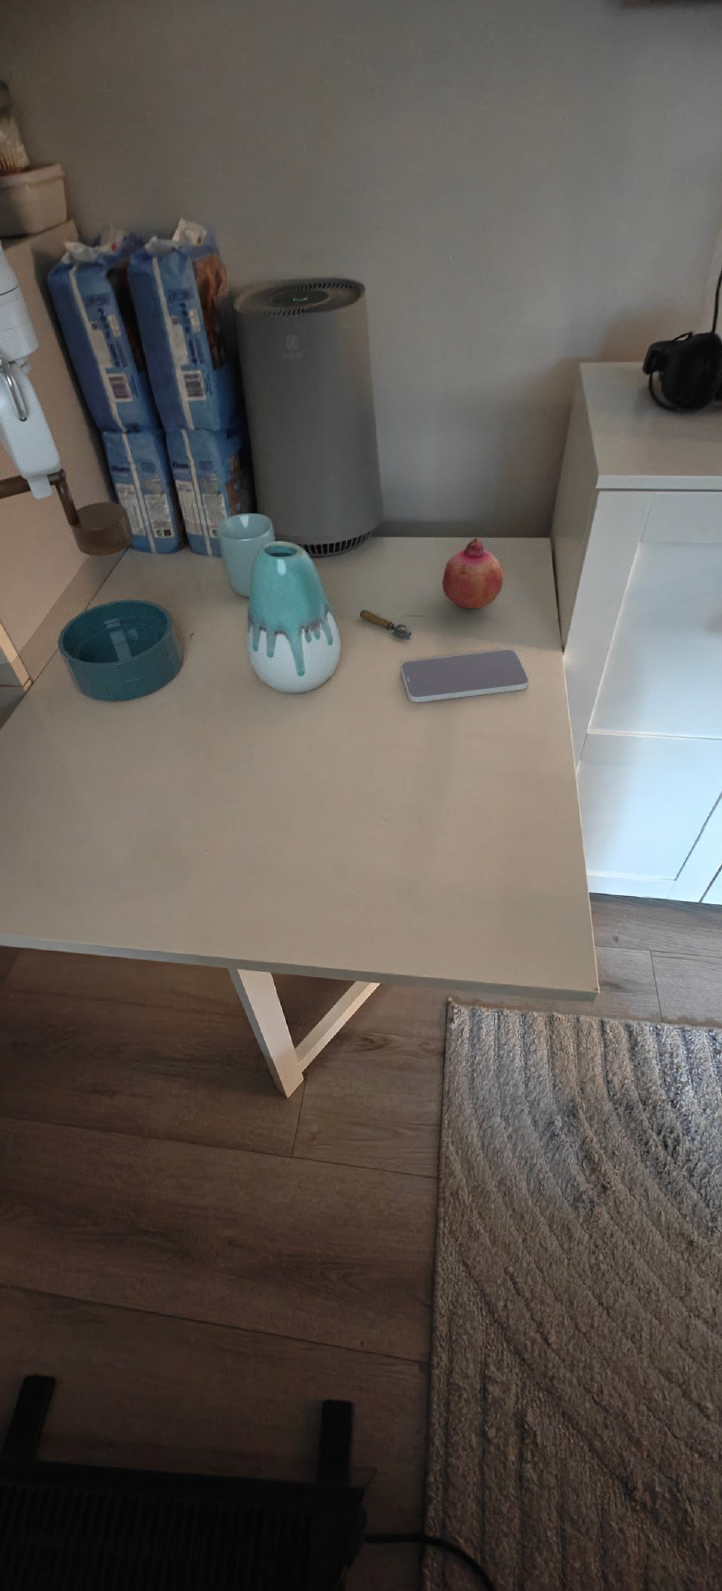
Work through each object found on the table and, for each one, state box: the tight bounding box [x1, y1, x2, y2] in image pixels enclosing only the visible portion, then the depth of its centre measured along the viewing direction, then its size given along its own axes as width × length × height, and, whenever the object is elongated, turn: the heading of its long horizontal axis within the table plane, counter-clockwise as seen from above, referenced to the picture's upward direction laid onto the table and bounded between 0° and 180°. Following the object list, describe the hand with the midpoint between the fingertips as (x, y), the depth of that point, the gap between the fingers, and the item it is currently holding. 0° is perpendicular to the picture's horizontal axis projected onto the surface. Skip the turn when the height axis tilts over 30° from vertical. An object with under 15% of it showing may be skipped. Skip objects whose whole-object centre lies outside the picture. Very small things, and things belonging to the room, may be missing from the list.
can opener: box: [359, 609, 413, 641], centre depth 99 cm, size 9×2×1 cm, turn 44°
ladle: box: [0, 467, 134, 557], centre depth 74 cm, size 19×6×9 cm, turn 120°
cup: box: [216, 512, 276, 599], centre depth 104 cm, size 8×8×10 cm
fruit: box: [441, 538, 504, 609], centre depth 98 cm, size 8×8×10 cm
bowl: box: [57, 598, 183, 702], centre depth 94 cm, size 14×14×6 cm
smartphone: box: [400, 648, 530, 703], centre depth 91 cm, size 7×1×15 cm
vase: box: [245, 540, 342, 694], centre depth 87 cm, size 12×12×18 cm
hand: (39, 489), depth 73 cm, fingers closed on ladle
